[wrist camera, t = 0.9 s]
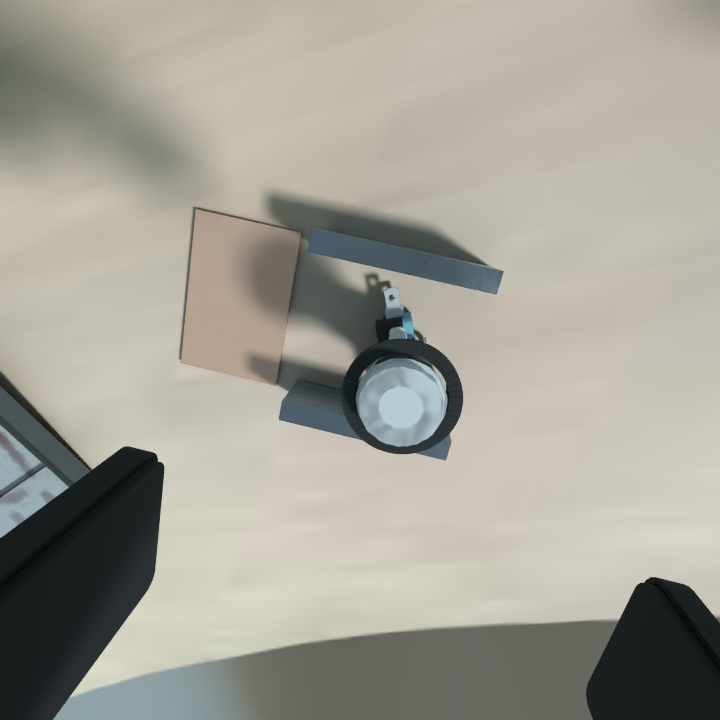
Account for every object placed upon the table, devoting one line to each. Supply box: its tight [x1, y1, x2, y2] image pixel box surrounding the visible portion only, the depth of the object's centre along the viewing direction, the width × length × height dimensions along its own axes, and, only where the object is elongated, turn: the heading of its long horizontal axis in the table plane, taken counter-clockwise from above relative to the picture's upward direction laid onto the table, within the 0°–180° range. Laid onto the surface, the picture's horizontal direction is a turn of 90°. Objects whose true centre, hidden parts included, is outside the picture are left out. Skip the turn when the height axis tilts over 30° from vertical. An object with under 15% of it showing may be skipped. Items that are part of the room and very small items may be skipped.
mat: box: [181, 209, 302, 386], centre depth 28 cm, size 7×10×1 cm, turn 168°
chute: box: [279, 228, 504, 460], centre depth 26 cm, size 10×11×4 cm
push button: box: [341, 287, 463, 454], centre depth 23 cm, size 7×5×10 cm
